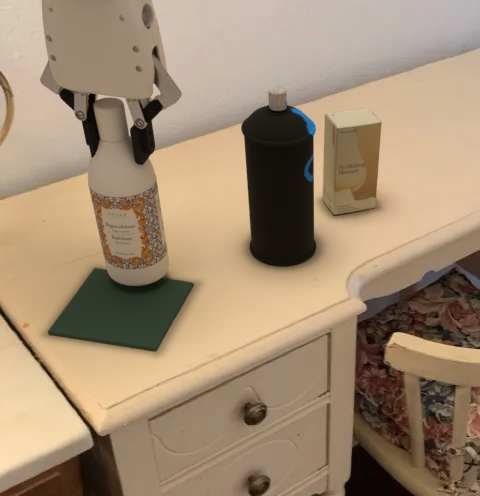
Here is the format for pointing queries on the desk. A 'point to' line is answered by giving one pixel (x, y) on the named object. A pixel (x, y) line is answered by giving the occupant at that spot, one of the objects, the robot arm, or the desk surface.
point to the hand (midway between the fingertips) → (122, 153)
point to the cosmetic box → (351, 160)
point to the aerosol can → (280, 181)
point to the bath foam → (125, 202)
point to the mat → (122, 311)
